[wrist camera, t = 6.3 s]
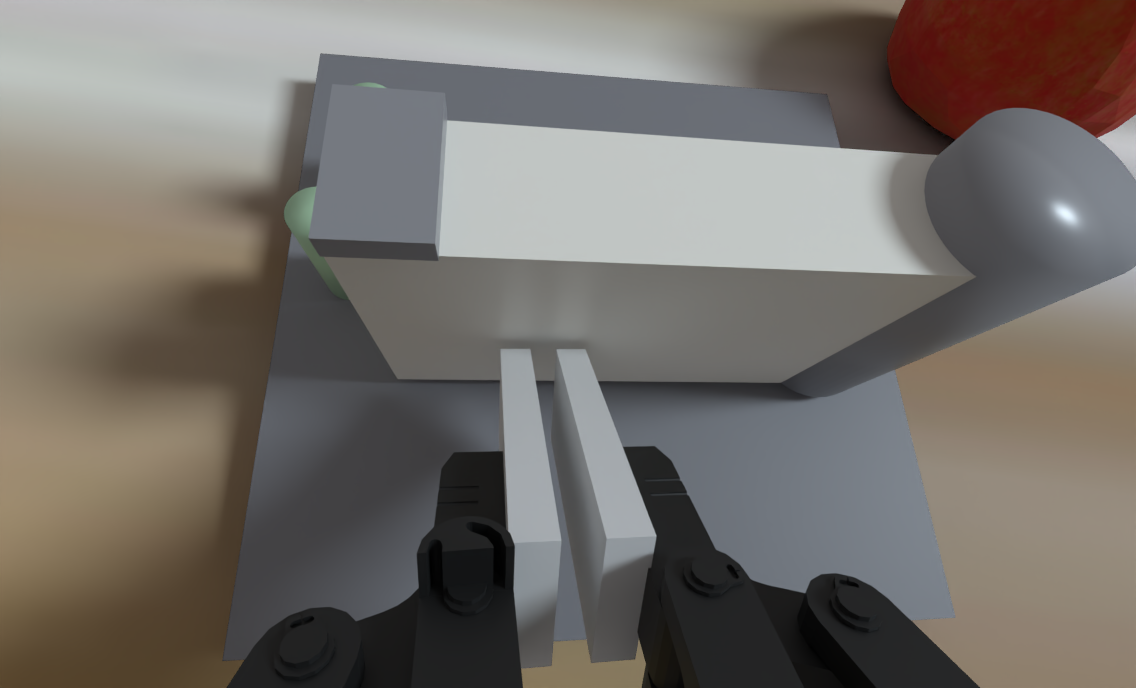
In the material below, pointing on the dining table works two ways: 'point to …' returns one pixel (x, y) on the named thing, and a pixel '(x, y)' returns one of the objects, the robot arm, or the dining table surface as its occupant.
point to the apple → (1016, 60)
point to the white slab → (702, 243)
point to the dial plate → (471, 407)
